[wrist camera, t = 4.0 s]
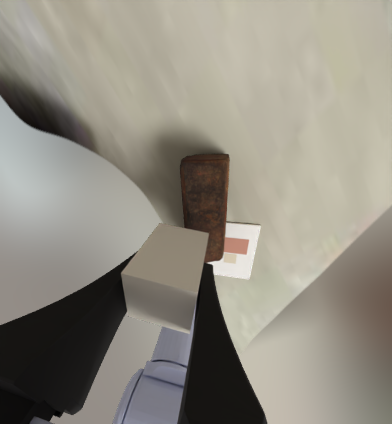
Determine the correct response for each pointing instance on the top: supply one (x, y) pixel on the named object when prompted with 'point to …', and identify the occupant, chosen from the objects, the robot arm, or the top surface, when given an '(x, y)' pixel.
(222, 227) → the brick
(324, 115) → the top surface
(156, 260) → the cream block
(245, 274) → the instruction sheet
